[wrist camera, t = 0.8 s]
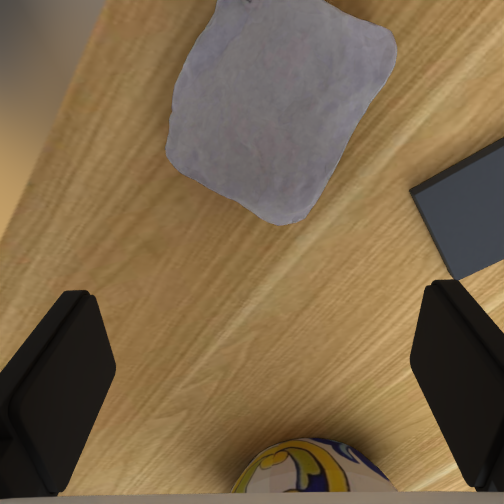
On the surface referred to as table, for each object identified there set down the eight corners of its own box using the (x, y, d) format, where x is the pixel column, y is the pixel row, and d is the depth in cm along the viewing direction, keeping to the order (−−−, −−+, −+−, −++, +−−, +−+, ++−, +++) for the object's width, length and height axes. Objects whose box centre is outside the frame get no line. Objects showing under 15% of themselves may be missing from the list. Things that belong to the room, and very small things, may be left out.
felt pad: (408, 190, 25) (414, 195, 24) (532, 120, 23) (543, 123, 22) (449, 274, 28) (456, 281, 27) (562, 220, 26) (572, 227, 25)
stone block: (171, 156, 26) (301, 222, 26) (140, 167, 21) (296, 246, 21) (241, -39, 21) (400, 42, 21) (218, -77, 16) (420, 27, 17)
